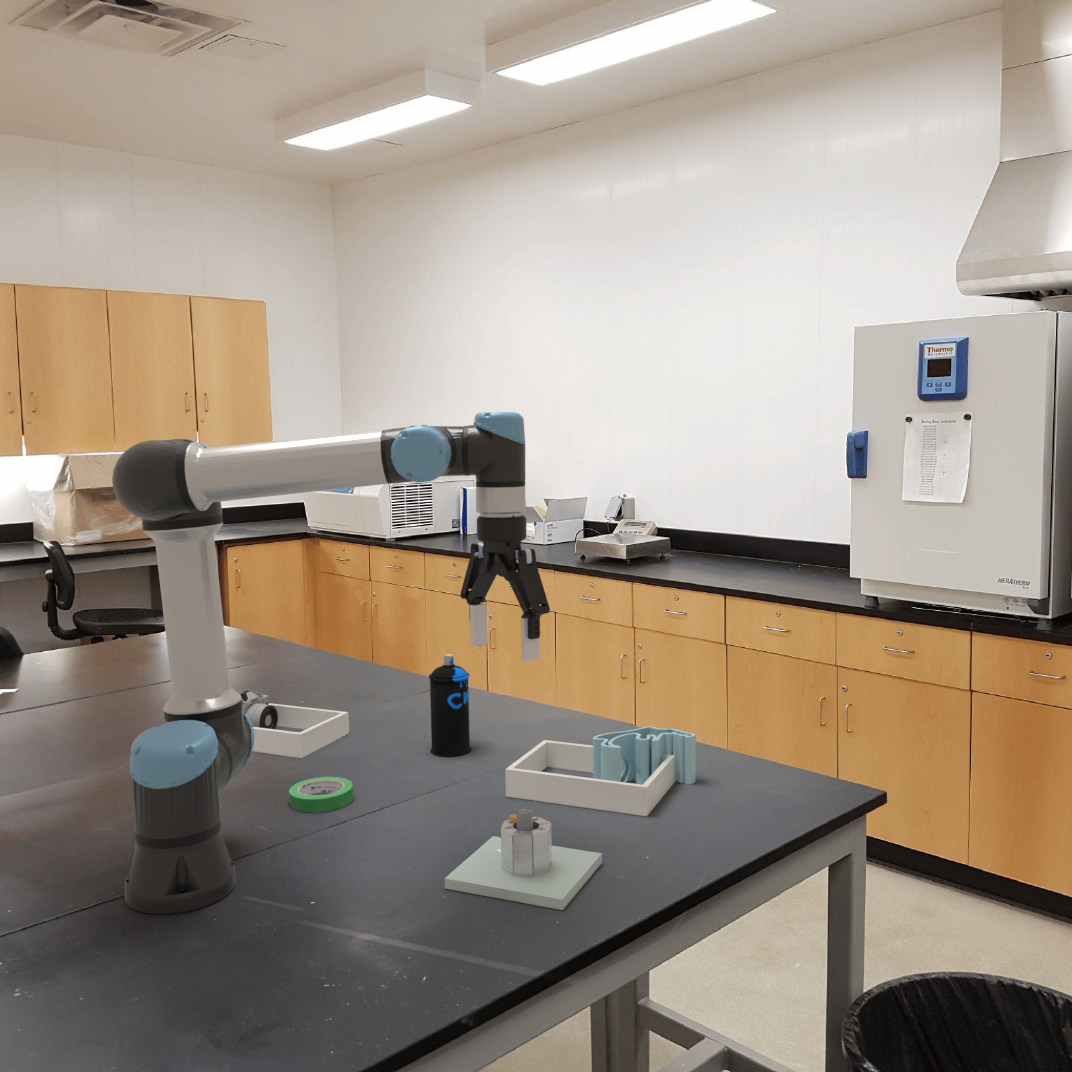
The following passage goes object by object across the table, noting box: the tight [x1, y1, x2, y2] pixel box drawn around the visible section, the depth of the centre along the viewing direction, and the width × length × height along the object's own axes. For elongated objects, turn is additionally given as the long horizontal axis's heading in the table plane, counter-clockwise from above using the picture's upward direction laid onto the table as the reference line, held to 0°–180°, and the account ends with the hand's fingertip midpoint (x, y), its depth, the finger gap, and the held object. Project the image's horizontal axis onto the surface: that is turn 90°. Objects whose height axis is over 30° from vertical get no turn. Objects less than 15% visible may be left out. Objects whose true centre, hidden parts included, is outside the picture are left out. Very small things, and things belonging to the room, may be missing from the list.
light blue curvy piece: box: [592, 725, 697, 785], centre depth 184 cm, size 18×10×9 cm, turn 119°
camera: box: [236, 689, 278, 730], centre depth 215 cm, size 16×9×10 cm, turn 160°
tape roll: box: [288, 776, 354, 814], centre depth 178 cm, size 11×11×3 cm
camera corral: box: [252, 702, 350, 759], centre depth 213 cm, size 17×24×5 cm
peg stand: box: [444, 808, 603, 911], centre depth 146 cm, size 16×18×10 cm
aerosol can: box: [428, 653, 472, 758], centre depth 203 cm, size 8×8×20 cm
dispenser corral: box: [505, 739, 676, 817], centre depth 181 cm, size 18×26×5 cm
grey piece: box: [500, 813, 553, 876], centre depth 146 cm, size 7×7×7 cm
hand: (503, 652), depth 154 cm, fingers open, 13 cm apart
